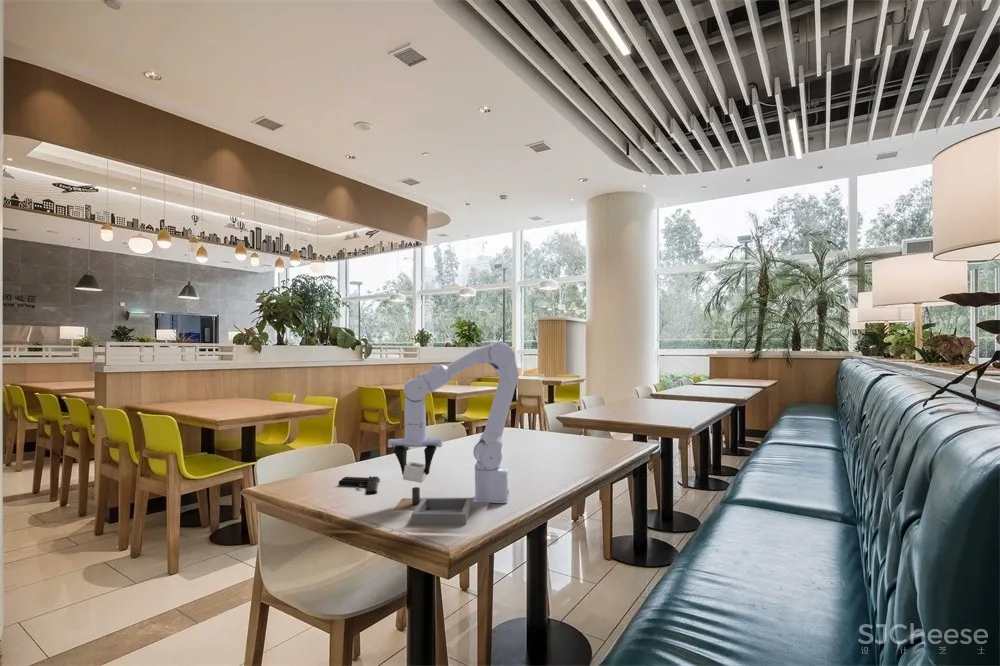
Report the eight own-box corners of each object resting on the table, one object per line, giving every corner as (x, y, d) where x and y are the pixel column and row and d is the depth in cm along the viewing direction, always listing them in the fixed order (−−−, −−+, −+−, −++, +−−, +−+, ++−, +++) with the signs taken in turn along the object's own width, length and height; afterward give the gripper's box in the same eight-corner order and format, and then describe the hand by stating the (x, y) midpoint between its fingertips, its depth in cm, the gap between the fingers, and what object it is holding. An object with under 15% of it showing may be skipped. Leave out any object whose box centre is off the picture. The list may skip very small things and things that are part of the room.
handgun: (332, 491, 141) (377, 488, 144) (340, 476, 159) (380, 473, 161) (332, 500, 141) (377, 497, 144) (340, 484, 159) (380, 481, 161)
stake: (437, 500, 138) (437, 483, 138) (430, 512, 128) (430, 493, 128) (402, 500, 139) (402, 483, 139) (392, 512, 129) (392, 493, 129)
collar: (426, 477, 136) (428, 464, 136) (421, 482, 131) (423, 469, 131) (408, 474, 137) (410, 461, 137) (402, 479, 132) (404, 465, 132)
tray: (472, 509, 130) (472, 497, 130) (465, 526, 117) (465, 514, 117) (423, 509, 131) (423, 497, 131) (411, 526, 118) (411, 514, 118)
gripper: (384, 425, 131) (385, 477, 130) (439, 425, 130) (439, 477, 129) (391, 421, 138) (392, 471, 137) (443, 421, 137) (444, 470, 136)
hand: (415, 473), depth 134 cm, fingers closed on collar, 6 cm apart
